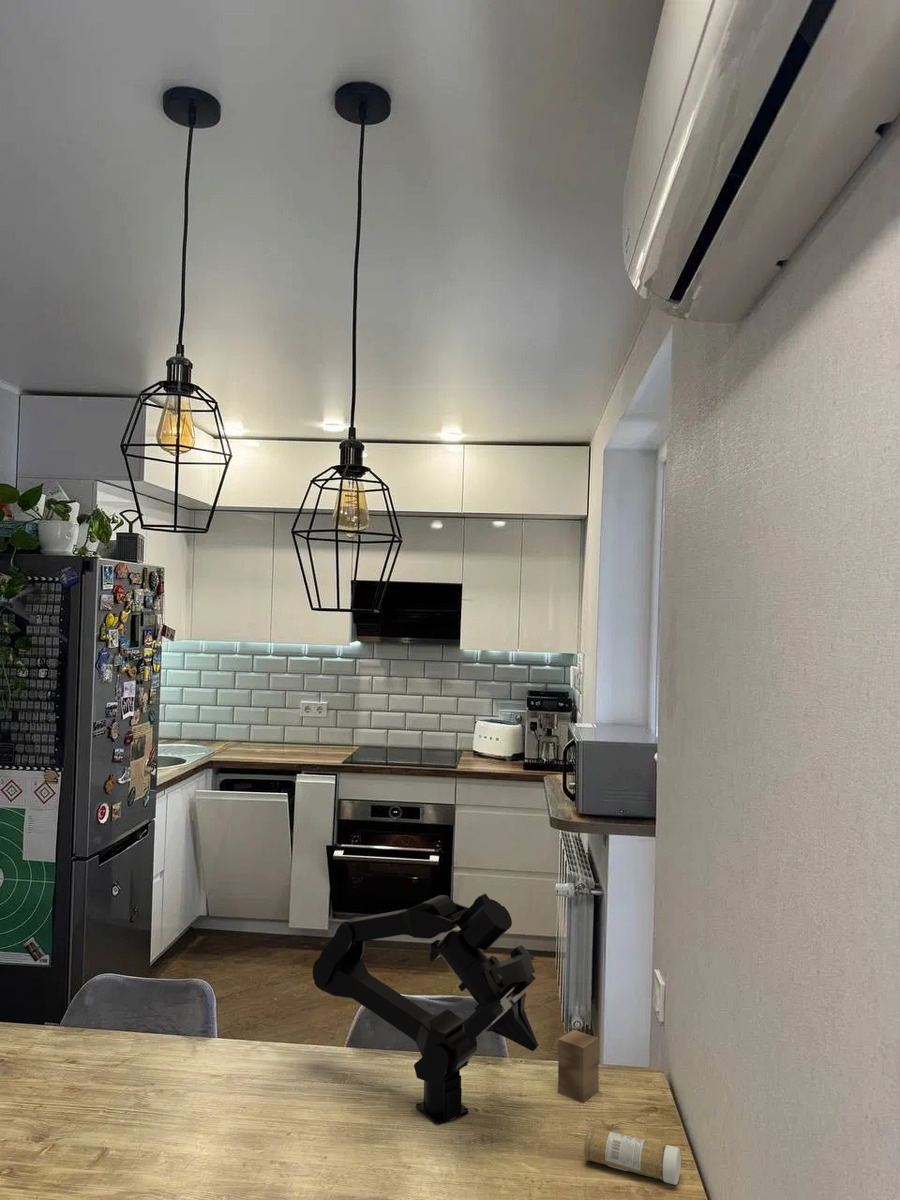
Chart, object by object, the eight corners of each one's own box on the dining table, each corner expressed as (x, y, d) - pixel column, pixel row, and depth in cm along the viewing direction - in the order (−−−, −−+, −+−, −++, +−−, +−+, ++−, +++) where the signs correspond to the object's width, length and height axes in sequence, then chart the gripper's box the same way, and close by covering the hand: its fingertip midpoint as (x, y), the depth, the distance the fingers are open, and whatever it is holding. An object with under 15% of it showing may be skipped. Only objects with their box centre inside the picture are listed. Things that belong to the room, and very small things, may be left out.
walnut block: (558, 1093, 145) (558, 1039, 146) (573, 1082, 149) (573, 1029, 150) (583, 1103, 142) (583, 1047, 143) (598, 1091, 146) (598, 1038, 146)
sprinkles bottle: (586, 1165, 126) (678, 1191, 120) (581, 1151, 123) (674, 1177, 118) (593, 1133, 129) (682, 1156, 124) (587, 1119, 127) (679, 1142, 121)
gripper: (481, 952, 128) (551, 1041, 122) (523, 918, 145) (587, 996, 139) (434, 997, 130) (501, 1087, 125) (481, 959, 147) (541, 1036, 142)
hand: (535, 1048), depth 133 cm, fingers closed
